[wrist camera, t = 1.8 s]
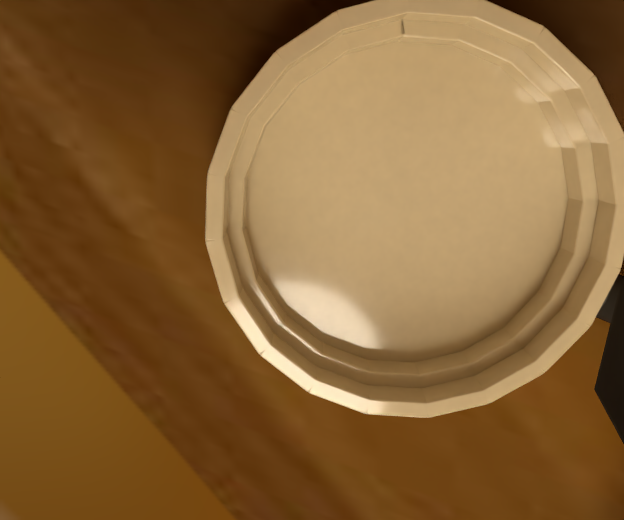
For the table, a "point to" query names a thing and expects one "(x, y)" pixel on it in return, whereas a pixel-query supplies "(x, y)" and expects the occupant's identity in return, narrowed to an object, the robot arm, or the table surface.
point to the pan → (417, 205)
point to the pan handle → (610, 301)
